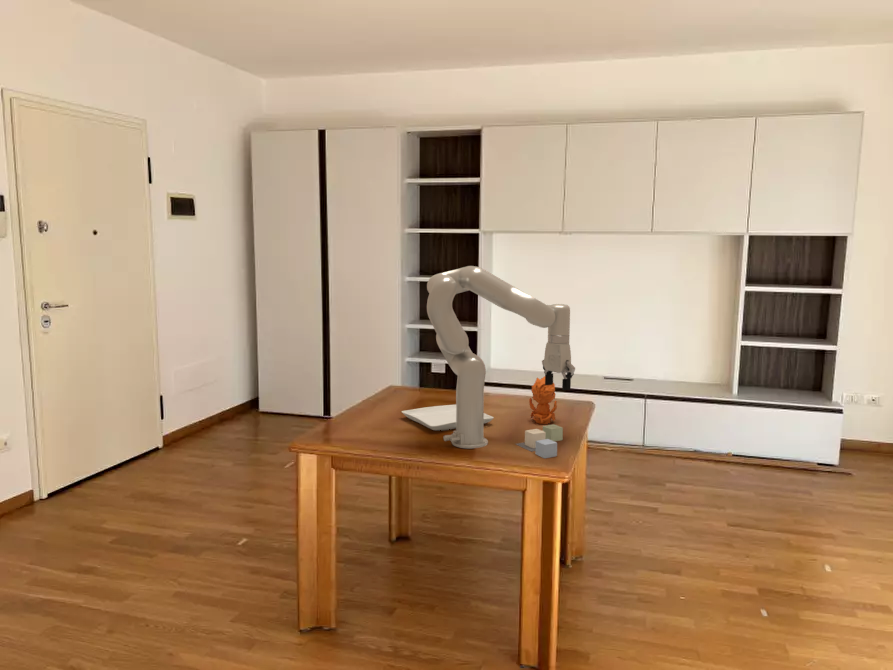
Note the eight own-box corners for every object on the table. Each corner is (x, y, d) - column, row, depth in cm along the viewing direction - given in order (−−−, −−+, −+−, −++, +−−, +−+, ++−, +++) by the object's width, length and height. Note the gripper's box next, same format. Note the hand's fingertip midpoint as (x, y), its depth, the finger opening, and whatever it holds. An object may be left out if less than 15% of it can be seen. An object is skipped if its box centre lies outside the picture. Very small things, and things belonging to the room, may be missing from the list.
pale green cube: (550, 443, 243) (551, 429, 243) (542, 439, 248) (542, 426, 247) (562, 441, 246) (562, 427, 245) (553, 437, 250) (554, 424, 249)
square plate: (495, 426, 267) (495, 416, 266) (431, 436, 254) (431, 425, 253) (459, 411, 290) (459, 402, 290) (400, 419, 277) (400, 409, 277)
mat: (531, 452, 232) (531, 451, 232) (514, 444, 241) (514, 443, 241) (555, 448, 237) (555, 447, 237) (538, 441, 246) (538, 439, 246)
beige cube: (533, 448, 236) (533, 434, 235) (524, 444, 240) (525, 430, 239) (545, 446, 238) (545, 432, 237) (536, 442, 242) (536, 428, 242)
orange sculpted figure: (561, 420, 273) (562, 375, 271) (551, 427, 264) (552, 380, 262) (535, 417, 279) (536, 372, 277) (524, 423, 270) (525, 377, 267)
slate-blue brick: (544, 459, 225) (544, 444, 224) (535, 455, 230) (535, 440, 229) (556, 457, 227) (557, 442, 227) (547, 453, 232) (548, 438, 231)
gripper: (535, 337, 251) (534, 384, 253) (565, 343, 236) (564, 393, 238) (551, 335, 254) (550, 382, 256) (583, 341, 239) (581, 390, 242)
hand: (557, 387), depth 247 cm, fingers open, 9 cm apart
